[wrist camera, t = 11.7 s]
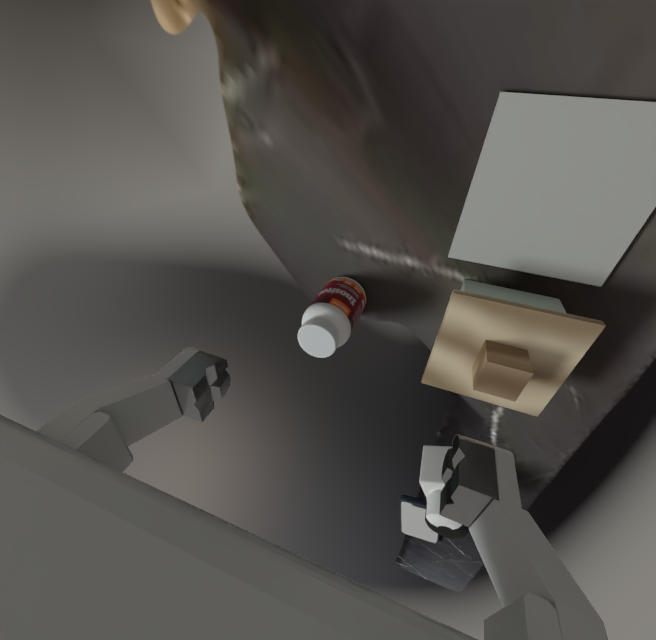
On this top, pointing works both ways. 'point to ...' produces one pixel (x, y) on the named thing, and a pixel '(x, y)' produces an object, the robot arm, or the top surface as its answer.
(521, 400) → the lid
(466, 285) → the pale green storage bin
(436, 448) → the medicine bottle
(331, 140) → the top surface
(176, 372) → the robot arm
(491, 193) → the mat
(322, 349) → the pill bottle
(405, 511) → the phone case
